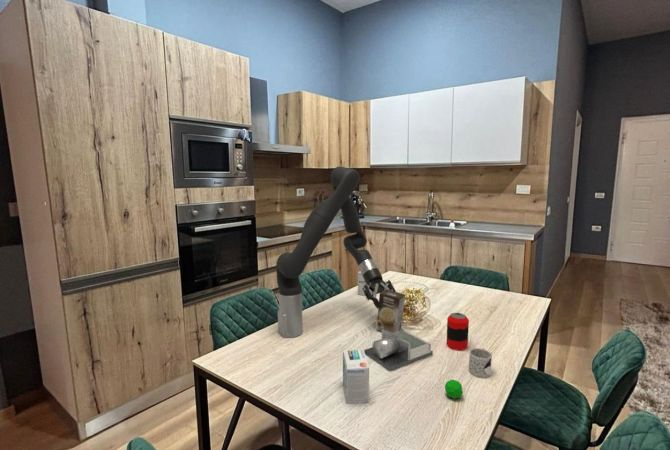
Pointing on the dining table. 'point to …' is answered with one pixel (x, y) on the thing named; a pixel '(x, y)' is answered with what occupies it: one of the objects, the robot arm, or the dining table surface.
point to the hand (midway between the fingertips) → (386, 305)
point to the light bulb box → (355, 376)
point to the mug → (480, 363)
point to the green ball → (453, 389)
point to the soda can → (457, 331)
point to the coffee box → (390, 311)
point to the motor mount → (398, 349)
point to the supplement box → (361, 284)
